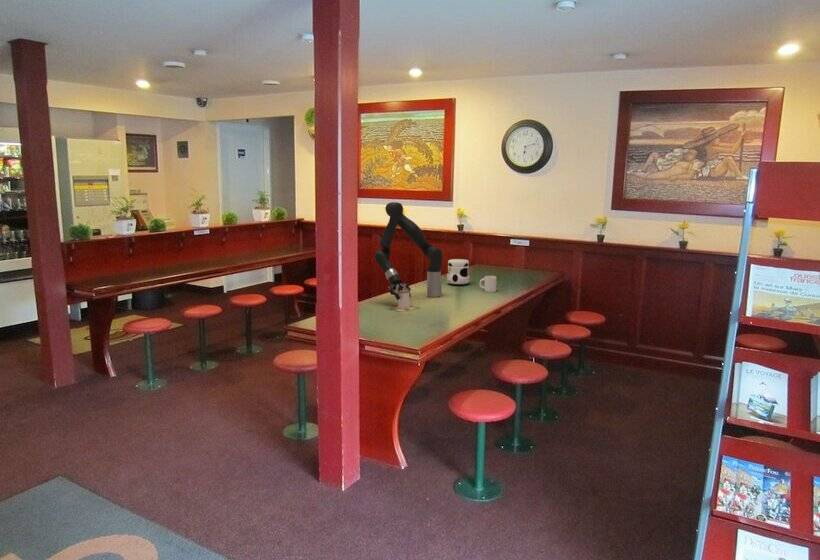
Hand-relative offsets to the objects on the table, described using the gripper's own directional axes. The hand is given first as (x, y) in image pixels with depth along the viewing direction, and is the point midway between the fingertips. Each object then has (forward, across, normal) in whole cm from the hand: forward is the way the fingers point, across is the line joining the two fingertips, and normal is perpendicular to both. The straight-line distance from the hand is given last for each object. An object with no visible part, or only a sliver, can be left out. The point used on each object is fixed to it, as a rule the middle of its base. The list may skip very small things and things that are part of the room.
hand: (404, 298), depth 356 cm
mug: (+2, +78, +7) cm, 78 cm away
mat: (+4, 0, +5) cm, 7 cm away
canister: (+4, 0, +5) cm, 6 cm away
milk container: (-20, +79, +29) cm, 87 cm away
